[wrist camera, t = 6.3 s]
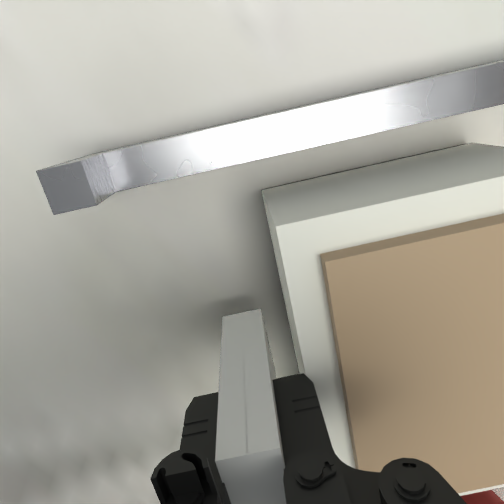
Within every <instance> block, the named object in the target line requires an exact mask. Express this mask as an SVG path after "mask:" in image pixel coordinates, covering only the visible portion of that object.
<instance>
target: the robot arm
mask: <svg viewBox="0 0 504 504" xmlns="http://www.w3.org/2000/svg"><path fill="white" fill-rule="evenodd" d="M151 482H152V484H153V486H154V489H155V491H156V494H157V496H158V498H159V501H160V503H161V504H467V503H466V502H465V501H464V500H463V499H462V498H461V497H460V495H459V494H458V493H457V492H456V491H455V490H454V489H453V488H452V487H451V485H450V484H449V483H448V482H447V481H446V480H445V479H444V478H443V476H442V475H441V474H440V473H439V472H438V471H437V470H435V469H434V468H433V467H432V466H430V465H429V464H428V463H425V462H423V461H420V460H418V459H414V458H400V459H395V460H392V461H391V462H389V463H388V464H386V465H385V466H384V467H383V469H382V471H381V472H372V471H364V470H359V469H355V468H353V467H350V466H348V465H346V464H345V463H344V462H342V461H341V460H340V459H339V458H338V456H337V455H336V454H335V452H334V450H333V448H332V444H331V441H330V437H329V434H328V431H327V427H326V424H325V420H324V417H323V414H322V410H321V407H320V404H319V400H318V397H317V393H316V390H315V387H314V383H313V382H312V381H311V380H310V379H309V378H308V377H307V376H306V375H305V374H304V373H302V374H297V375H292V376H288V377H283V378H278V379H276V373H275V367H274V363H273V358H272V354H271V350H270V346H269V342H268V337H267V333H266V329H265V325H264V321H263V316H262V312H261V309H256V310H251V311H247V312H242V313H237V314H233V315H228V316H224V317H223V318H222V337H221V356H220V376H219V392H217V393H212V394H207V395H203V396H198V397H194V398H193V400H192V402H191V403H190V405H189V406H188V408H187V410H186V413H185V420H184V427H183V432H182V439H181V445H180V450H178V451H176V452H173V453H171V454H170V455H168V456H167V457H165V458H164V459H163V460H162V461H161V462H160V463H159V464H158V465H157V467H156V468H155V469H154V472H153V474H152V476H151Z"/></svg>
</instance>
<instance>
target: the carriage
mask: <svg viewBox="0 0 504 504" xmlns="http://www.w3.org/2000/svg"><path fill="white" fill-rule="evenodd" d="M261 191H262V195H263V200H264V205H265V210H266V215H267V219H268V224H269V229H270V234H271V238H272V243H273V248H274V253H275V258H276V262H277V267H278V272H279V277H280V281H281V286H282V291H283V296H284V301H285V305H286V310H287V315H288V320H289V324H290V329H291V334H292V339H293V344H294V348H295V353H296V358H297V363H298V368H299V372H300V374H302V373H304V374H305V375H306V376H307V377H308V378H309V379H310V380H311V381H312V382H313V383H314V387H315V390H316V393H317V397H318V400H319V404H320V407H321V410H322V414H323V417H324V420H325V424H326V427H327V431H328V434H329V437H330V441H331V444H332V448H333V450H334V452H335V454H336V455H337V456H338V458H339V459H340V460H341V461H342V462H344V463H345V464H346V465H348V466H350V467H353V468H355V469H359V470H364V471H372V472H381V471H382V469H383V467H384V466H385V465H386V464H388V463H389V462H391V461H392V460H395V459H400V458H414V459H418V460H420V461H423V462H425V463H428V464H429V465H430V466H432V467H433V468H434V469H435V470H437V471H438V472H439V473H440V474H441V475H442V476H443V478H444V479H445V480H446V481H447V482H448V483H449V484H450V485H451V487H452V488H453V489H454V490H455V491H456V492H457V493H458V494H459V495H460V496H463V495H468V494H472V493H477V492H482V491H487V490H492V489H497V488H502V487H504V147H500V146H493V145H485V144H477V143H469V144H465V145H460V146H456V147H452V148H447V149H443V150H438V151H434V152H429V153H425V154H420V155H416V156H411V157H407V158H403V159H398V160H394V161H389V162H385V163H380V164H376V165H371V166H367V167H363V168H358V169H354V170H349V171H345V172H340V173H336V174H331V175H327V176H322V177H318V178H314V179H309V180H305V181H300V182H296V183H291V184H287V185H282V186H278V187H274V188H269V189H265V190H261Z"/></svg>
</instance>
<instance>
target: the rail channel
mask: <svg viewBox="0 0 504 504" xmlns="http://www.w3.org/2000/svg"><path fill="white" fill-rule="evenodd" d="M501 104H504V60H500V61H496V62H491V63H487V64H483V65H478V66H474V67H470V68H465V69H461V70H456V71H452V72H448V73H443V74H439V75H435V76H430V77H426V78H422V79H417V80H413V81H408V82H404V83H400V84H395V85H391V86H387V87H382V88H378V89H374V90H369V91H365V92H361V93H356V94H352V95H347V96H343V97H339V98H334V99H330V100H326V101H321V102H317V103H313V104H308V105H304V106H299V107H295V108H291V109H286V110H282V111H278V112H273V113H269V114H265V115H260V116H256V117H252V118H247V119H243V120H238V121H234V122H230V123H225V124H221V125H217V126H212V127H208V128H204V129H199V130H195V131H191V132H186V133H182V134H177V135H173V136H169V137H164V138H160V139H156V140H151V141H147V142H143V143H138V144H134V145H129V146H125V147H121V148H116V149H112V150H108V151H103V152H99V153H95V154H91V155H87V156H84V157H81V158H77V159H74V160H71V161H68V162H64V163H61V164H58V165H54V166H51V167H48V168H44V169H41V170H38V171H36V172H37V175H38V177H39V180H40V182H41V184H42V187H43V189H44V192H45V194H46V197H47V199H48V202H49V204H50V207H51V209H52V212H53V214H54V215H56V214H60V213H65V212H69V211H74V210H78V209H82V208H87V207H91V206H96V205H98V204H99V203H101V202H102V201H104V200H105V199H107V198H108V197H109V196H111V195H112V194H114V193H115V192H117V191H122V190H126V189H131V188H135V187H139V186H144V185H148V184H153V183H157V182H162V181H166V180H170V179H175V178H179V177H184V176H188V175H192V174H197V173H201V172H206V171H210V170H214V169H219V168H223V167H228V166H232V165H237V164H241V163H245V162H250V161H254V160H259V159H263V158H267V157H272V156H276V155H281V154H285V153H289V152H294V151H298V150H303V149H307V148H312V147H316V146H320V145H325V144H329V143H334V142H338V141H342V140H347V139H351V138H356V137H360V136H364V135H369V134H373V133H378V132H382V131H387V130H391V129H395V128H400V127H404V126H409V125H413V124H417V123H422V122H426V121H431V120H435V119H439V118H444V117H448V116H453V115H457V114H462V113H466V112H470V111H475V110H479V109H484V108H488V107H492V106H497V105H501Z"/></svg>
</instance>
